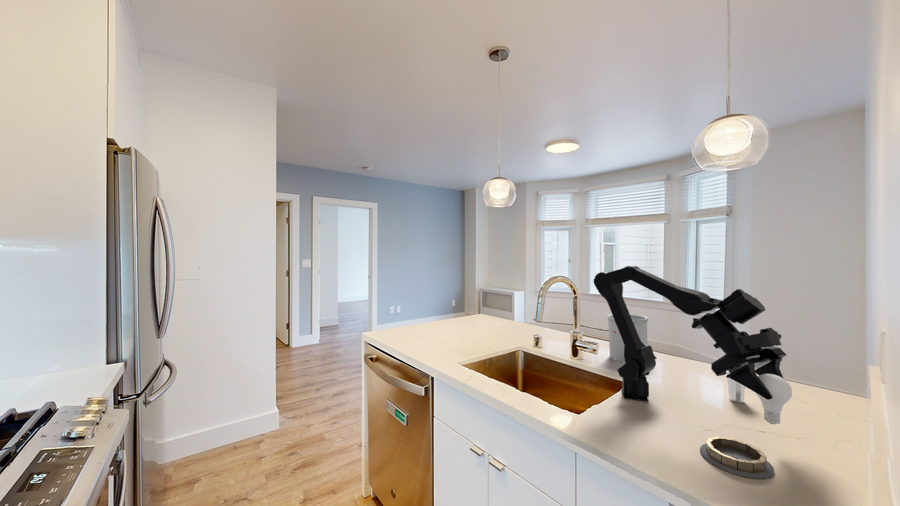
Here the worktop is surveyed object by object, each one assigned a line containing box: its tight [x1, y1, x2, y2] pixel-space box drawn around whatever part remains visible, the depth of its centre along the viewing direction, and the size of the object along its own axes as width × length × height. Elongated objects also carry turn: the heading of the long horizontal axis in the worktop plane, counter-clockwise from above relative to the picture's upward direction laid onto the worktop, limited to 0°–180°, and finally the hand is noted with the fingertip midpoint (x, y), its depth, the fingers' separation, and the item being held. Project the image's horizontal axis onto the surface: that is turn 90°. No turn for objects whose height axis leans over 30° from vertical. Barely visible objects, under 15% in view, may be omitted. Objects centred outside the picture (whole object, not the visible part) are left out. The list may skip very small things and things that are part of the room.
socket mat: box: [699, 443, 775, 480], centre depth 73 cm, size 12×12×1 cm
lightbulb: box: [755, 374, 793, 425], centre depth 77 cm, size 6×6×11 cm
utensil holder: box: [607, 313, 649, 364], centre depth 141 cm, size 15×15×18 cm
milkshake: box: [726, 371, 746, 404], centre depth 101 cm, size 4×5×10 cm
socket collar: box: [705, 436, 768, 473], centre depth 73 cm, size 10×10×2 cm
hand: (779, 396), depth 76 cm, fingers closed on lightbulb, 6 cm apart
